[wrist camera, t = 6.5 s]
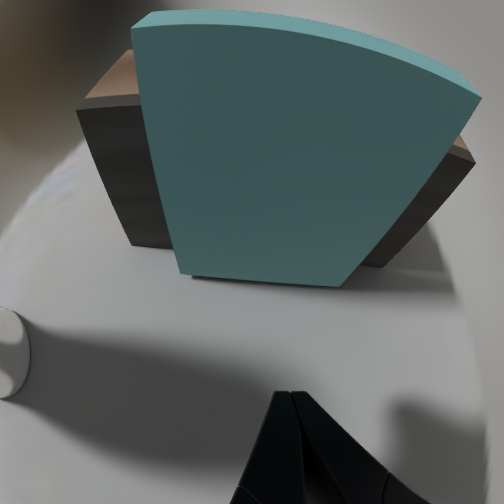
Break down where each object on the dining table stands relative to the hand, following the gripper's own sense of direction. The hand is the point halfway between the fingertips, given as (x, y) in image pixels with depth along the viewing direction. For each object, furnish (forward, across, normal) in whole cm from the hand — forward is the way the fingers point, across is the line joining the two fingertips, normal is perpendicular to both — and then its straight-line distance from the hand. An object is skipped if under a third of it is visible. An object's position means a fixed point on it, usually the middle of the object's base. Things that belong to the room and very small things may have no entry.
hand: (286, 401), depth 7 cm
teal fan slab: (+12, 0, -2) cm, 12 cm away
